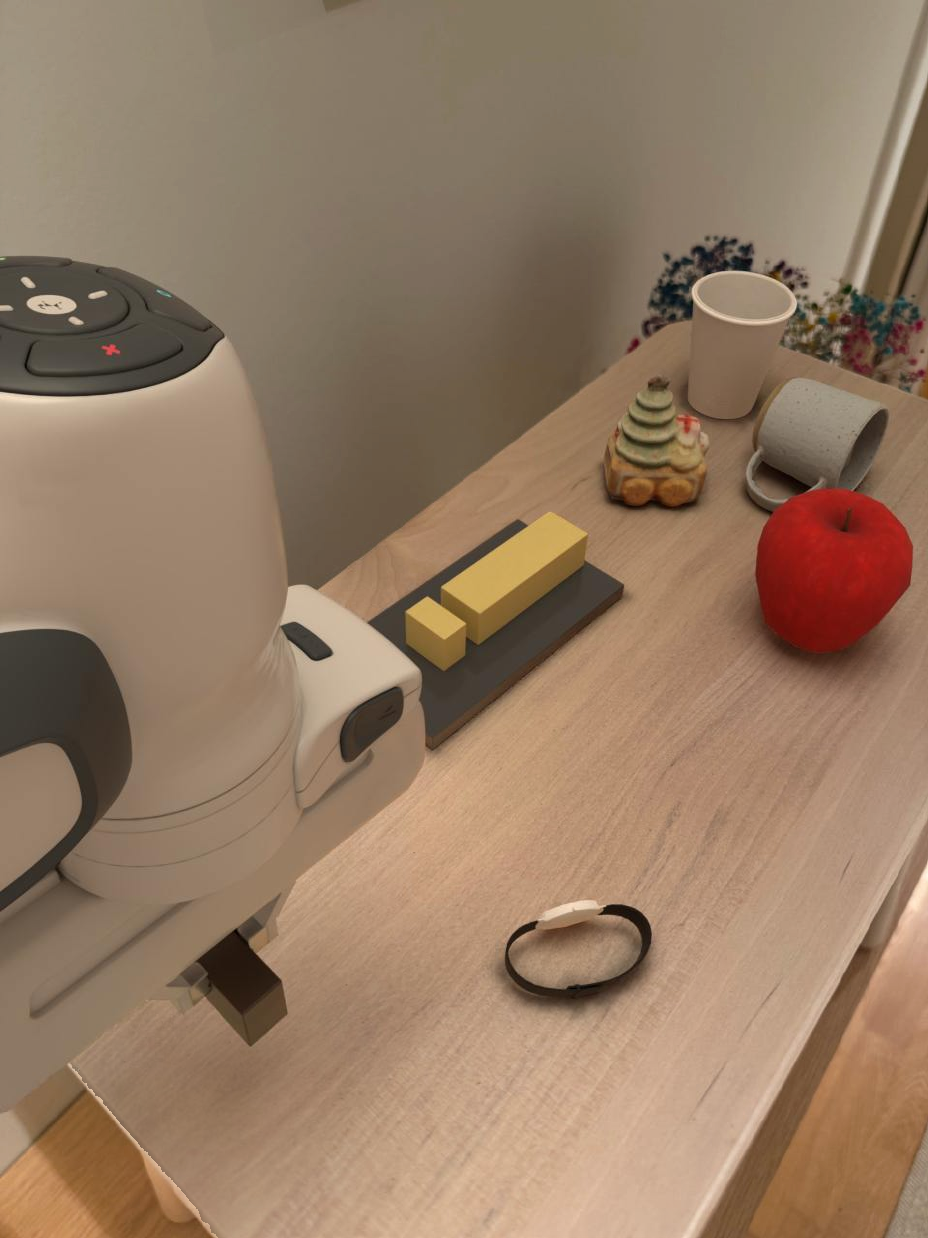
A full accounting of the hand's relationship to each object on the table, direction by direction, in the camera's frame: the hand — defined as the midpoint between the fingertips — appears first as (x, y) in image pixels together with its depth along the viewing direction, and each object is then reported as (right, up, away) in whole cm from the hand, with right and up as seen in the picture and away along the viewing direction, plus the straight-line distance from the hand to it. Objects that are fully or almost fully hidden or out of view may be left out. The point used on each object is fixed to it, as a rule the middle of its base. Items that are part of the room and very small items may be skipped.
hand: (220, 963), depth 44 cm
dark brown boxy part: (-2, 0, +3) cm, 3 cm away
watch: (+16, -4, +12) cm, 20 cm away
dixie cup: (+32, +33, +49) cm, 67 cm away
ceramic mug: (+37, +25, +41) cm, 60 cm away
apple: (+34, +13, +29) cm, 47 cm away
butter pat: (+8, +12, +25) cm, 29 cm away
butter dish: (+11, +14, +28) cm, 33 cm away
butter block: (+13, +16, +29) cm, 36 cm away
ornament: (+25, +24, +40) cm, 53 cm away
